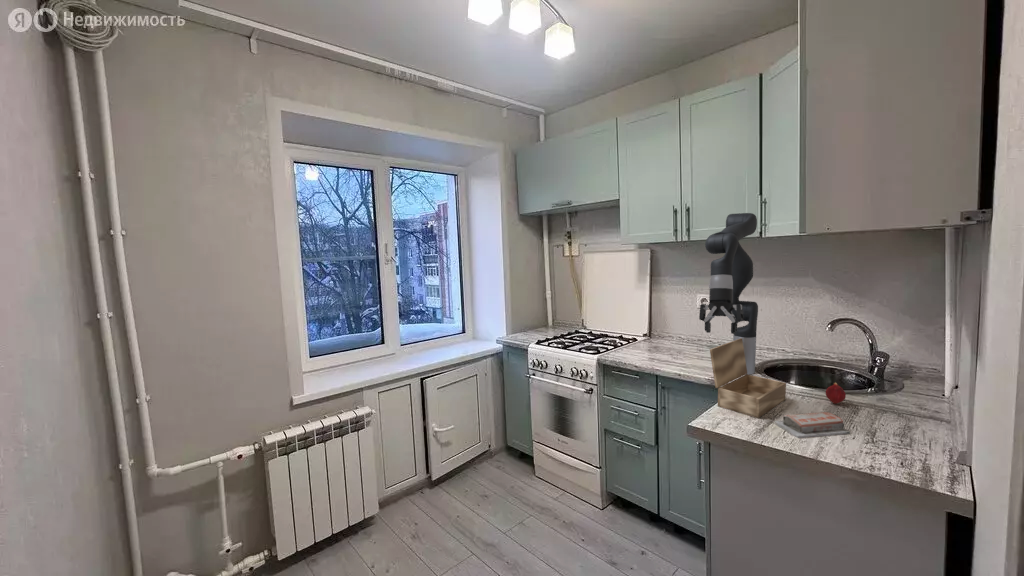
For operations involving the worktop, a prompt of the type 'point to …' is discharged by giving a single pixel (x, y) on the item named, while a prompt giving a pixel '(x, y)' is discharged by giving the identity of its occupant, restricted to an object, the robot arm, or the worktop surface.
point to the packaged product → (812, 425)
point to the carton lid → (728, 362)
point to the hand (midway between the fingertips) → (720, 333)
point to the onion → (835, 393)
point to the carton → (752, 395)
